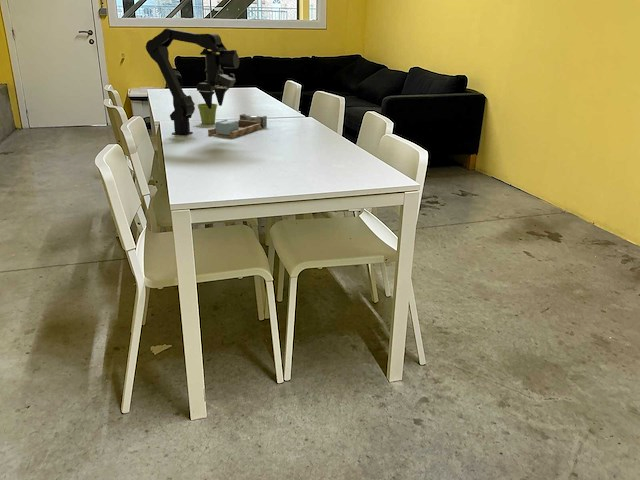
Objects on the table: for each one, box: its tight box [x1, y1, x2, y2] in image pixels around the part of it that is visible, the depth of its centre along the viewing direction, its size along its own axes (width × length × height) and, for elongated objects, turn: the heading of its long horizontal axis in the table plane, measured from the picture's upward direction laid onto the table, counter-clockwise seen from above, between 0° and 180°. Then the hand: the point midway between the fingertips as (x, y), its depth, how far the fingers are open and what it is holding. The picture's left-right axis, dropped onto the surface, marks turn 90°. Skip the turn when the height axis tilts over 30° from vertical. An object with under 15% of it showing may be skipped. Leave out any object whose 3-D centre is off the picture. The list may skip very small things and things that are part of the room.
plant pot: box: [196, 102, 219, 125], centre depth 249 cm, size 9×9×9 cm
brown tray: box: [207, 119, 262, 139], centre depth 232 cm, size 24×12×3 cm, turn 157°
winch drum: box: [239, 113, 268, 129], centre depth 245 cm, size 4×12×5 cm, turn 67°
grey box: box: [214, 119, 239, 135], centre depth 226 cm, size 7×7×5 cm
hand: (215, 107), depth 217 cm, fingers open, 9 cm apart
